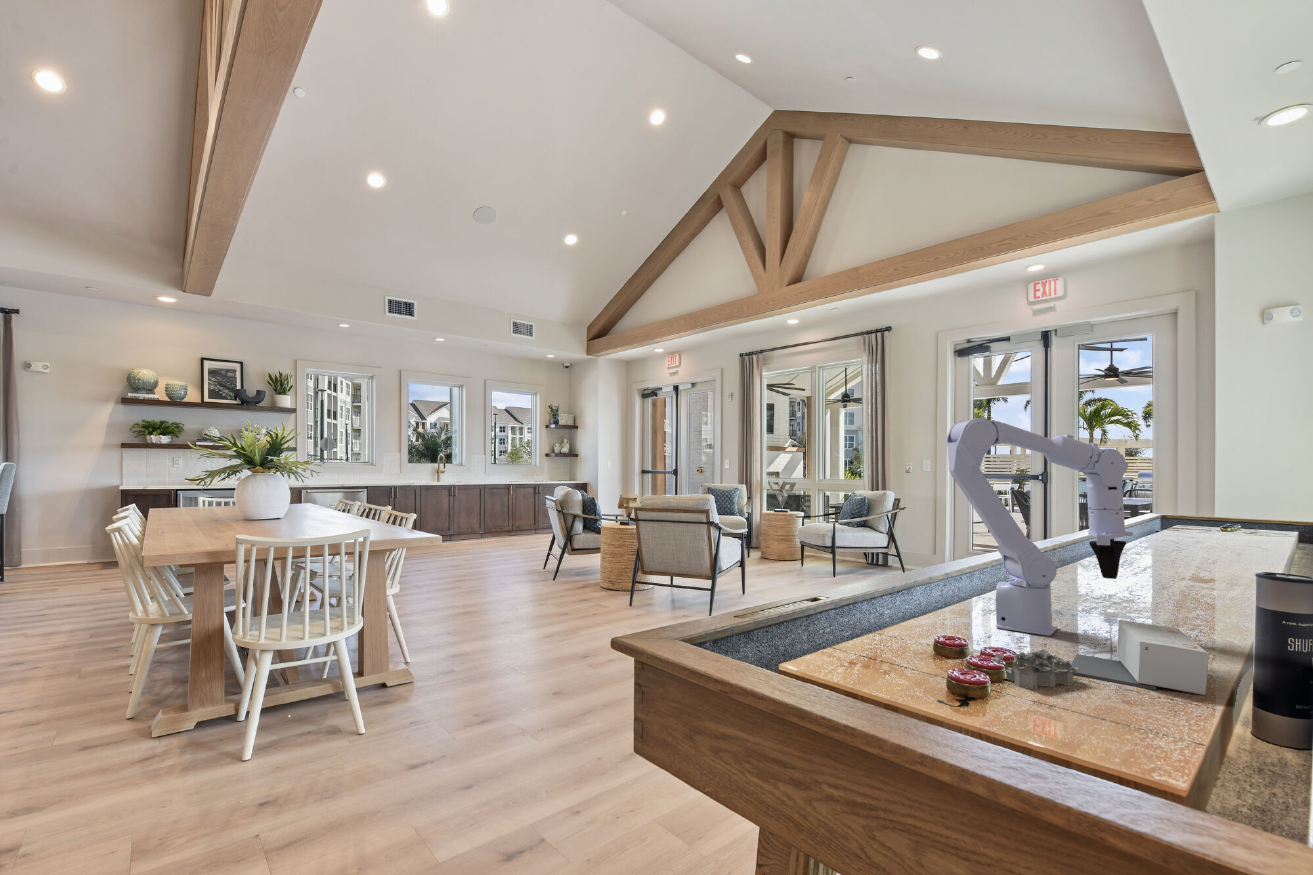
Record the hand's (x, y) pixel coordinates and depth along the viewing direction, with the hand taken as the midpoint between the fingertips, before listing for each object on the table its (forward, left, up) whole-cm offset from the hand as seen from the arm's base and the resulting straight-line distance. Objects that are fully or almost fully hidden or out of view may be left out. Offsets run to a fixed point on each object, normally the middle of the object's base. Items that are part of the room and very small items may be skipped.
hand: (1109, 577), depth 121 cm
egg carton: (-6, -40, -11) cm, 42 cm away
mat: (+3, -28, -10) cm, 30 cm away
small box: (+6, -20, -7) cm, 22 cm away
